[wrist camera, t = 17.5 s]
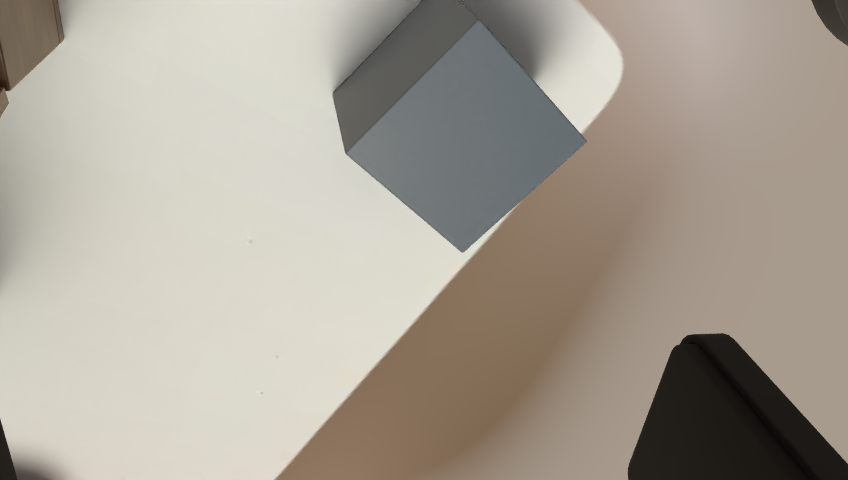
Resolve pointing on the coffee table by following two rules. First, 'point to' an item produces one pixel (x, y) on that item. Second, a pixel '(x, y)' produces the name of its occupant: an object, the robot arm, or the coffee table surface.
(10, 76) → the chest
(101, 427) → the coffee table surface
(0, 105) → the lid
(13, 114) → the coffee table surface
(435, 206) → the slate grey cube
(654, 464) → the robot arm
